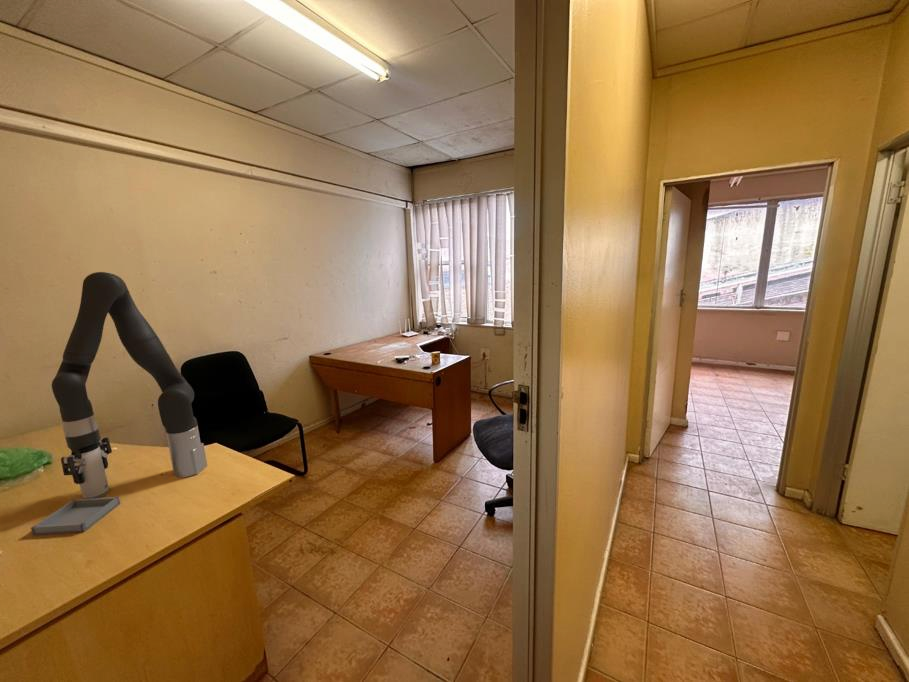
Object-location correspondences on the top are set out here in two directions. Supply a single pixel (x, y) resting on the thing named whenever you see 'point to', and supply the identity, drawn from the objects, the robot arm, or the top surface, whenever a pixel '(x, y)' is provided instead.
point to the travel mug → (93, 473)
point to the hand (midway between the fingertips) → (92, 475)
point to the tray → (76, 516)
